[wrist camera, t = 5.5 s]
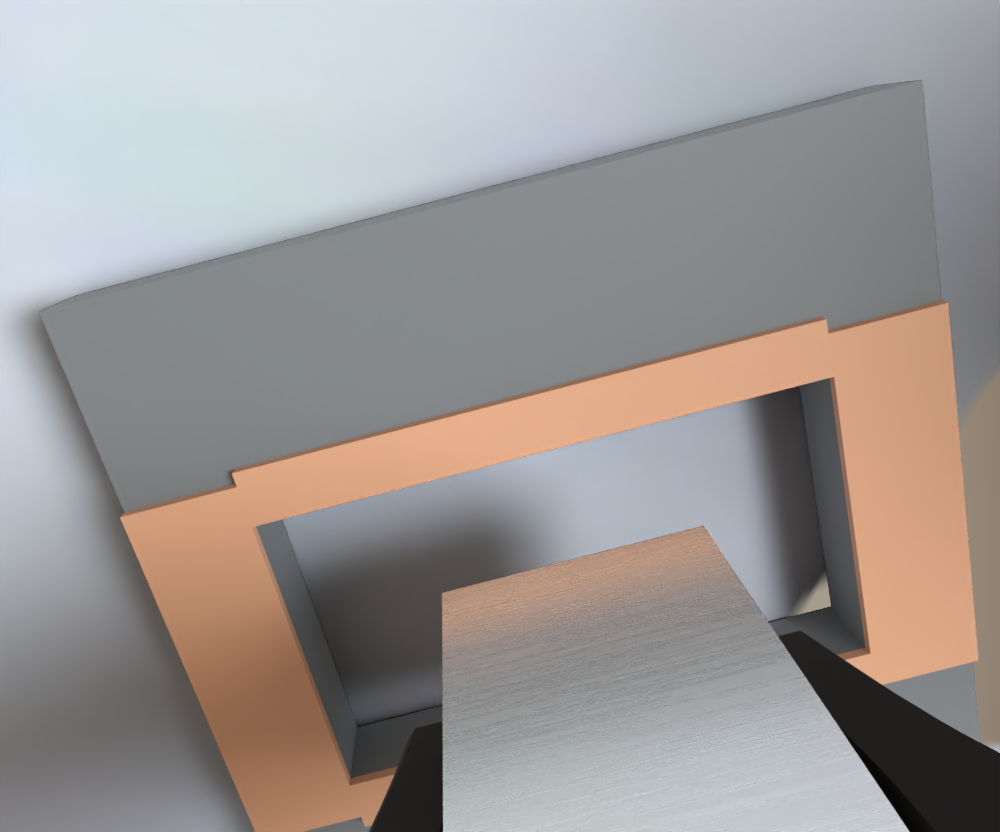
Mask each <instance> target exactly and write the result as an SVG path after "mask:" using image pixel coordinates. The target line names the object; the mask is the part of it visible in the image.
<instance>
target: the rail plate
mask: <svg viewBox="0 0 1000 832" xmlns="http://www.w3.org/2000/svg"><path fill="white" fill-rule="evenodd" d="M39 314H40V317H41V319H42V321H43V324H44V326H45V328H46V331H47V333H48V336H49V338H50V340H51V343H52V345H53V347H54V350H55V352H56V354H57V357H58V359H59V361H60V364H61V366H62V368H63V371H64V373H65V375H66V378H67V380H68V382H69V385H70V387H71V389H72V392H73V394H74V396H75V399H76V401H77V403H78V406H79V408H80V410H81V413H82V415H83V417H84V420H85V422H86V425H87V427H88V429H89V432H90V434H91V436H92V439H93V441H94V443H95V446H96V448H97V450H98V453H99V455H100V457H101V460H102V462H103V464H104V467H105V469H106V471H107V474H108V476H109V478H110V481H111V483H112V485H113V488H114V490H115V492H116V495H117V497H118V499H119V502H120V504H121V507H122V509H123V511H124V513H123V514H122V516H121V517H120V519H121V521H122V524H123V526H124V528H125V531H126V533H127V535H128V538H129V540H130V542H131V545H132V547H133V549H134V552H135V554H136V556H137V559H138V561H139V563H140V566H141V568H142V570H143V572H144V575H145V577H146V579H147V582H148V584H149V586H150V589H151V591H152V593H153V596H154V598H155V600H156V603H157V605H158V607H159V610H160V612H161V614H162V617H163V619H164V621H165V624H166V626H167V628H168V631H169V633H170V635H171V638H172V640H173V642H174V645H175V647H176V649H177V652H178V654H179V656H180V659H181V661H182V663H183V666H184V668H185V670H186V673H187V675H188V677H189V680H190V682H191V684H192V687H193V689H194V691H195V694H196V696H197V698H198V701H199V703H200V705H201V708H202V710H203V712H204V715H205V717H206V719H207V722H208V724H209V726H210V729H211V731H212V733H213V735H214V738H215V740H216V742H217V745H218V747H219V749H220V752H221V754H222V756H223V759H224V761H225V763H226V766H227V768H228V770H229V773H230V775H231V777H232V780H233V782H234V784H235V787H236V789H237V791H238V794H239V796H240V798H241V801H242V803H243V805H244V808H245V810H246V812H247V815H248V817H249V819H250V822H251V824H252V826H253V829H254V831H255V832H369V830H370V828H371V826H372V824H373V822H374V820H375V817H376V815H377V813H378V811H379V809H380V807H381V804H382V802H383V800H384V797H385V795H386V793H387V791H388V788H389V786H390V784H391V781H392V779H393V777H394V774H395V772H396V769H397V767H398V764H399V762H400V759H401V757H402V754H403V752H404V749H405V747H406V744H407V742H408V739H409V737H410V735H411V734H412V732H413V731H414V729H415V728H418V727H422V726H426V725H430V724H434V723H438V722H442V721H443V708H442V706H439V707H435V708H431V709H427V710H423V711H419V712H415V713H411V714H407V715H403V716H400V717H396V718H392V719H388V720H384V721H380V722H376V723H372V724H368V725H364V726H360V727H357V724H356V721H355V718H354V716H353V713H352V710H351V707H350V705H349V702H348V699H347V696H346V694H345V691H344V688H343V685H342V683H341V680H340V677H339V674H338V672H337V669H336V666H335V663H334V661H333V658H332V655H331V652H330V650H329V647H328V644H327V641H326V639H325V636H324V633H323V630H322V628H321V625H320V622H319V619H318V617H317V614H316V611H315V608H314V606H313V603H312V600H311V597H310V595H309V592H308V589H307V586H306V584H305V581H304V578H303V575H302V573H301V570H300V567H299V564H298V562H297V559H296V556H295V553H294V551H293V548H292V545H291V542H290V540H289V537H288V534H287V531H286V529H285V526H284V523H283V520H282V519H286V518H290V517H294V516H297V515H301V514H305V513H309V512H313V511H317V510H321V509H324V508H328V507H332V506H336V505H340V504H344V503H348V502H352V501H355V500H359V499H363V498H367V497H371V496H375V495H379V494H383V493H386V492H390V491H394V490H398V489H402V488H406V487H410V486H413V485H417V484H421V483H425V482H429V481H433V480H437V479H441V478H444V477H448V476H452V475H456V474H460V473H464V472H468V471H471V470H475V469H479V468H483V467H487V466H491V465H495V464H499V463H502V462H506V461H510V460H514V459H518V458H522V457H526V456H529V455H533V454H537V453H541V452H545V451H549V450H553V449H557V448H560V447H564V446H568V445H572V444H576V443H580V442H584V441H587V440H591V439H595V438H599V437H603V436H607V435H611V434H615V433H618V432H622V431H626V430H630V429H634V428H638V427H642V426H646V425H649V424H653V423H657V422H661V421H665V420H669V419H673V418H676V417H680V416H684V415H688V414H692V413H696V412H700V411H704V410H707V409H711V408H715V407H719V406H723V405H727V404H731V403H734V402H738V401H742V400H746V399H750V398H754V397H758V396H762V395H765V394H769V393H773V392H777V391H781V390H785V389H789V388H792V387H796V386H799V388H800V395H801V401H802V408H803V415H804V422H805V429H806V436H807V443H808V450H809V456H810V463H811V470H812V477H813V484H814V491H815V498H816V505H817V511H818V518H819V525H820V532H821V539H822V546H823V553H824V560H825V566H826V573H827V580H828V587H829V594H830V601H831V607H827V608H823V609H820V610H815V611H811V612H808V613H804V614H800V615H796V616H792V617H788V618H784V619H780V620H776V621H772V622H769V624H770V625H771V627H772V628H773V630H774V631H775V633H776V634H777V636H780V635H784V634H788V633H792V632H796V631H802V632H804V633H805V634H807V635H808V636H810V637H812V638H813V639H815V640H816V641H818V642H819V643H821V644H822V645H823V646H825V647H826V648H828V649H829V650H831V651H832V652H834V653H835V654H837V655H838V656H840V657H841V658H843V659H844V660H846V661H847V662H849V663H850V664H852V665H853V666H855V667H856V668H858V669H859V670H861V671H862V672H864V673H865V674H867V675H868V676H870V677H871V678H873V679H874V680H876V681H877V682H879V683H880V684H882V685H884V686H885V687H887V688H888V689H890V690H891V691H893V692H894V693H896V694H898V695H899V696H901V697H903V698H904V699H906V700H907V701H909V702H911V703H912V704H914V705H916V706H917V707H919V708H921V709H922V710H924V711H926V712H927V713H929V714H930V715H932V716H934V717H935V718H937V719H939V720H940V721H942V722H944V723H946V724H947V725H949V726H951V727H953V728H954V729H956V730H958V731H959V732H961V733H963V734H965V735H967V736H969V737H971V738H972V739H974V740H976V741H978V742H980V735H979V724H978V712H977V700H976V690H975V678H974V666H973V662H974V661H978V660H979V659H978V647H977V635H976V624H975V611H974V600H973V589H972V577H971V565H970V553H969V541H968V530H967V518H966V507H965V494H964V482H963V471H962V459H961V448H960V435H959V424H958V412H957V400H956V388H955V377H954V365H953V353H952V341H951V330H950V318H949V306H948V303H947V302H944V301H941V290H940V278H939V267H938V255H937V244H936V233H935V221H934V210H933V198H932V187H931V176H930V164H929V153H928V141H927V130H926V118H925V107H924V96H923V84H922V80H916V81H908V82H899V83H891V84H882V85H875V86H871V87H867V88H863V89H859V90H856V91H852V92H848V93H844V94H840V95H837V96H833V97H829V98H825V99H821V100H818V101H814V102H810V103H806V104H802V105H799V106H795V107H791V108H787V109H783V110H780V111H776V112H772V113H768V114H764V115H761V116H757V117H753V118H749V119H745V120H742V121H738V122H734V123H730V124H726V125H723V126H719V127H715V128H711V129H707V130H704V131H700V132H696V133H692V134H688V135H685V136H681V137H677V138H673V139H669V140H665V141H662V142H658V143H654V144H650V145H646V146H643V147H639V148H635V149H631V150H627V151H624V152H620V153H616V154H612V155H608V156H605V157H601V158H597V159H593V160H589V161H586V162H582V163H578V164H574V165H570V166H567V167H563V168H559V169H555V170H551V171H548V172H544V173H540V174H536V175H532V176H529V177H525V178H521V179H517V180H513V181H510V182H506V183H502V184H498V185H494V186H491V187H487V188H483V189H479V190H475V191H472V192H468V193H464V194H460V195H456V196H453V197H449V198H445V199H441V200H437V201H434V202H430V203H426V204H422V205H418V206H415V207H411V208H407V209H403V210H399V211H396V212H392V213H388V214H384V215H380V216H377V217H373V218H369V219H365V220H361V221H357V222H354V223H350V224H346V225H342V226H338V227H335V228H331V229H327V230H323V231H319V232H316V233H312V234H308V235H304V236H300V237H297V238H293V239H289V240H285V241H281V242H278V243H274V244H270V245H266V246H262V247H259V248H255V249H251V250H247V251H243V252H240V253H236V254H232V255H228V256H224V257H221V258H217V259H213V260H209V261H205V262H202V263H198V264H194V265H190V266H186V267H183V268H179V269H175V270H171V271H167V272H164V273H160V274H156V275H152V276H148V277H145V278H141V279H137V280H133V281H129V282H126V283H122V284H118V285H114V286H110V287H107V288H103V289H99V290H95V291H91V292H88V293H84V294H80V295H76V296H74V297H72V298H70V299H67V300H65V301H63V302H60V303H58V304H56V305H54V306H51V307H49V308H47V309H44V310H42V311H40V312H39Z"/></svg>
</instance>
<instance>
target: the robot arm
mask: <svg viewBox="0 0 1000 832" xmlns="http://www.w3.org/2000/svg"><path fill="white" fill-rule="evenodd" d="M778 637H779V639H780V640H781V642H782V643H783V645H784V646H785V648H786V649H787V651H788V652H789V654H790V655H791V657H792V658H793V660H794V661H795V663H796V664H797V665H798V667H799V668H800V670H801V671H802V673H803V674H804V676H805V677H806V679H807V680H808V682H809V683H810V685H811V686H812V688H813V689H814V691H815V692H816V694H817V695H818V697H819V698H820V700H821V701H822V703H823V704H824V706H825V707H826V708H827V710H828V711H829V713H830V714H831V716H832V717H833V719H834V720H835V722H836V723H837V725H838V726H839V728H840V729H841V731H842V732H843V734H844V735H845V737H846V738H847V740H848V741H849V743H850V744H851V746H852V747H853V749H854V750H855V752H856V753H857V754H858V756H859V757H860V759H861V760H862V762H863V763H864V765H865V766H866V768H867V769H868V771H869V772H870V774H871V775H872V777H873V778H874V780H875V781H876V783H877V784H878V786H879V787H880V789H881V790H882V792H883V793H884V795H885V796H886V798H887V799H888V800H889V802H890V803H891V805H892V806H893V808H894V809H895V811H896V812H897V814H898V815H899V817H900V818H901V820H902V821H903V823H904V824H905V826H906V827H907V829H908V830H909V832H1000V753H998V752H997V751H995V750H993V749H991V748H989V747H987V746H985V745H984V744H982V743H980V742H978V741H976V740H974V739H972V738H971V737H969V736H967V735H965V734H963V733H961V732H959V731H958V730H956V729H954V728H953V727H951V726H949V725H947V724H946V723H944V722H942V721H940V720H939V719H937V718H935V717H934V716H932V715H930V714H929V713H927V712H926V711H924V710H922V709H921V708H919V707H917V706H916V705H914V704H912V703H911V702H909V701H907V700H906V699H904V698H903V697H901V696H899V695H898V694H896V693H894V692H893V691H891V690H890V689H888V688H887V687H885V686H884V685H882V684H880V683H879V682H877V681H876V680H874V679H873V678H871V677H870V676H868V675H867V674H865V673H864V672H862V671H861V670H859V669H858V668H856V667H855V666H853V665H852V664H850V663H849V662H847V661H846V660H844V659H843V658H841V657H840V656H838V655H837V654H835V653H834V652H832V651H831V650H829V649H828V648H826V647H825V646H823V645H822V644H821V643H819V642H818V641H816V640H815V639H813V638H812V637H810V636H808V635H807V634H805V633H804V632H802V631H796V632H792V633H788V634H784V635H780V636H778ZM369 832H443V721H442V722H438V723H434V724H430V725H426V726H422V727H418V728H415V729H414V731H413V732H412V734H411V735H410V737H409V739H408V742H407V744H406V747H405V749H404V752H403V754H402V757H401V759H400V762H399V764H398V767H397V769H396V772H395V774H394V777H393V779H392V781H391V784H390V786H389V788H388V791H387V793H386V795H385V797H384V800H383V802H382V804H381V807H380V809H379V811H378V813H377V815H376V817H375V820H374V822H373V824H372V826H371V828H370V830H369Z"/></svg>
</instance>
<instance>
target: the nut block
mask: <svg viewBox="0 0 1000 832" xmlns="http://www.w3.org/2000/svg"><path fill="white" fill-rule="evenodd" d="M442 708H443V832H909V830H908V829H907V827H906V826H905V824H904V823H903V821H902V820H901V818H900V817H899V815H898V814H897V812H896V811H895V809H894V808H893V806H892V805H891V803H890V802H889V800H888V799H887V798H886V796H885V795H884V793H883V792H882V790H881V789H880V787H879V786H878V784H877V783H876V781H875V780H874V778H873V777H872V775H871V774H870V772H869V771H868V769H867V768H866V766H865V765H864V763H863V762H862V760H861V759H860V757H859V756H858V754H857V753H856V752H855V750H854V749H853V747H852V746H851V744H850V743H849V741H848V740H847V738H846V737H845V735H844V734H843V732H842V731H841V729H840V728H839V726H838V725H837V723H836V722H835V720H834V719H833V717H832V716H831V714H830V713H829V711H828V710H827V708H826V707H825V706H824V704H823V703H822V701H821V700H820V698H819V697H818V695H817V694H816V692H815V691H814V689H813V688H812V686H811V685H810V683H809V682H808V680H807V679H806V677H805V676H804V674H803V673H802V671H801V670H800V668H799V667H798V665H797V664H796V663H795V661H794V660H793V658H792V657H791V655H790V654H789V652H788V651H787V649H786V648H785V646H784V645H783V643H782V642H781V640H780V639H779V637H778V636H777V634H776V633H775V631H774V630H773V628H772V627H771V625H770V624H769V622H768V621H767V619H766V618H765V617H764V615H763V614H762V612H761V611H760V609H759V608H758V606H757V605H756V603H755V602H754V600H753V599H752V597H751V596H750V594H749V593H748V591H747V590H746V588H745V587H744V585H743V584H742V582H741V581H740V579H739V578H738V576H737V575H736V573H735V572H734V571H733V569H732V568H731V566H730V565H729V563H728V562H727V560H726V559H725V557H724V556H723V554H722V553H721V551H720V550H719V548H718V547H717V545H716V544H715V542H714V541H713V539H712V538H711V536H710V535H709V533H708V532H707V530H706V529H705V527H704V526H700V527H697V528H693V529H689V530H685V531H681V532H677V533H673V534H669V535H665V536H661V537H658V538H654V539H650V540H646V541H642V542H638V543H634V544H630V545H626V546H622V547H619V548H615V549H611V550H607V551H603V552H599V553H595V554H591V555H587V556H583V557H580V558H576V559H572V560H568V561H564V562H560V563H556V564H552V565H548V566H544V567H541V568H537V569H533V570H529V571H525V572H521V573H517V574H513V575H509V576H505V577H502V578H498V579H494V580H490V581H486V582H482V583H478V584H474V585H470V586H466V587H463V588H459V589H455V590H451V591H447V592H443V593H442Z"/></svg>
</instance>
